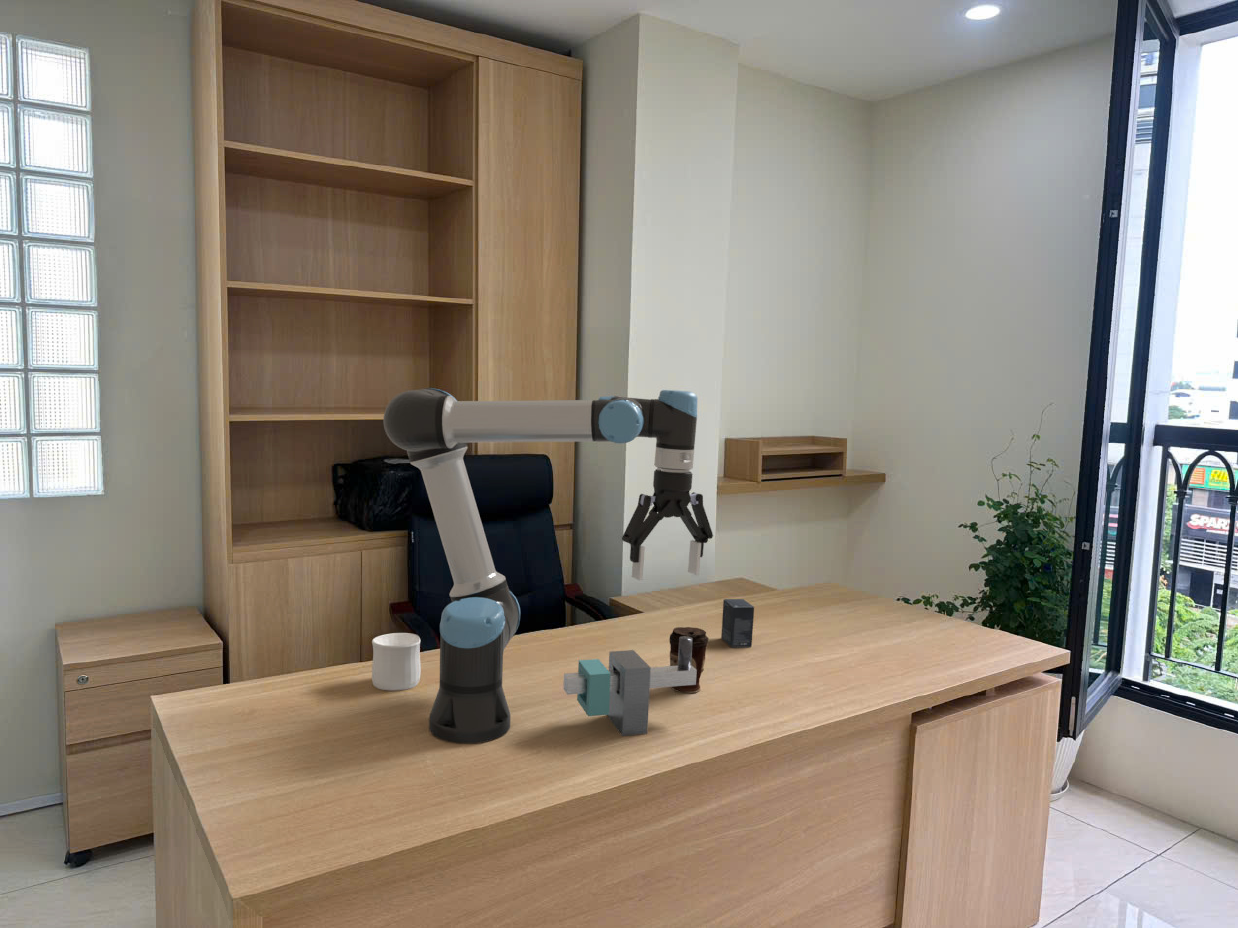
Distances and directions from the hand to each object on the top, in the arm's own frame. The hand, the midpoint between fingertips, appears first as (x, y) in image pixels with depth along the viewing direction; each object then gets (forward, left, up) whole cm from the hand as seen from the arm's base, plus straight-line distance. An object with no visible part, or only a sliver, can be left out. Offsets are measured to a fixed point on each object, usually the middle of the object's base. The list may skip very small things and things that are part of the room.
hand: (665, 576), depth 170 cm
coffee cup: (+10, +10, -28) cm, 32 cm away
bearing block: (-8, -5, -28) cm, 30 cm away
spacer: (-15, -5, -24) cm, 29 cm away
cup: (-50, +25, -28) cm, 63 cm away
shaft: (-8, -5, -20) cm, 22 cm away
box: (+35, +37, -28) cm, 59 cm away
